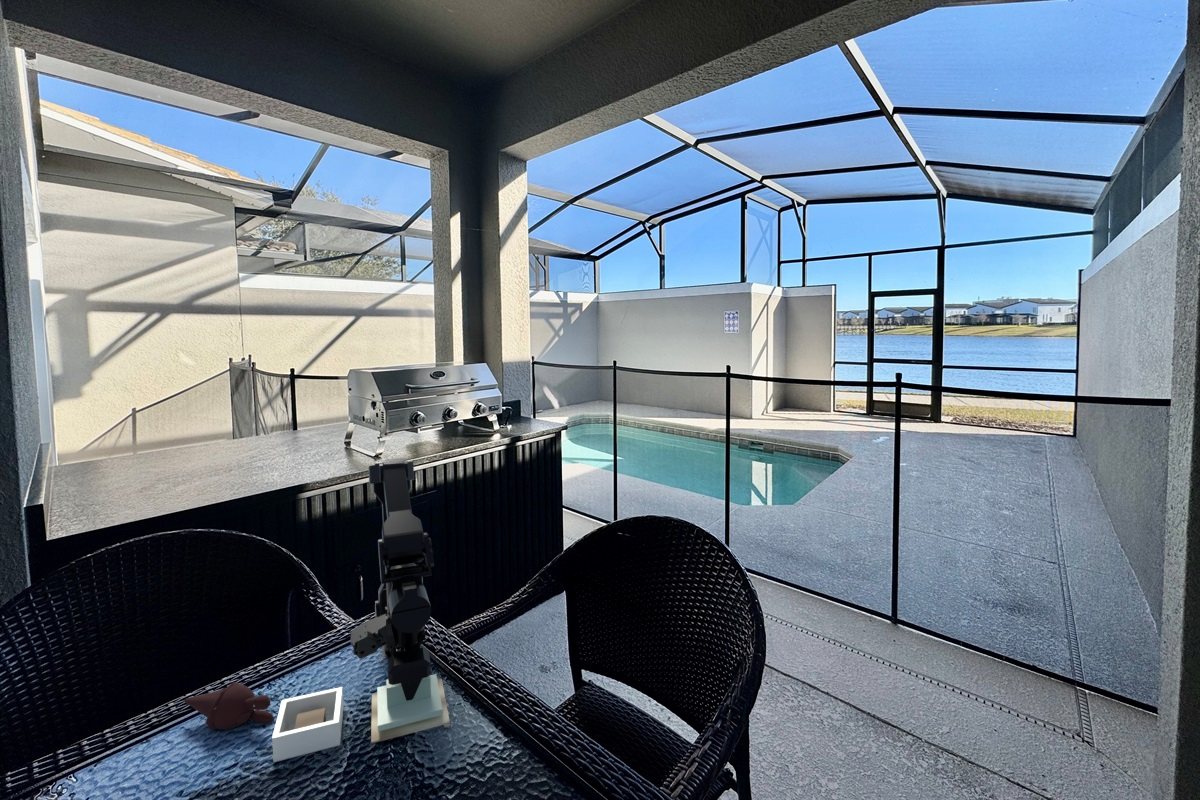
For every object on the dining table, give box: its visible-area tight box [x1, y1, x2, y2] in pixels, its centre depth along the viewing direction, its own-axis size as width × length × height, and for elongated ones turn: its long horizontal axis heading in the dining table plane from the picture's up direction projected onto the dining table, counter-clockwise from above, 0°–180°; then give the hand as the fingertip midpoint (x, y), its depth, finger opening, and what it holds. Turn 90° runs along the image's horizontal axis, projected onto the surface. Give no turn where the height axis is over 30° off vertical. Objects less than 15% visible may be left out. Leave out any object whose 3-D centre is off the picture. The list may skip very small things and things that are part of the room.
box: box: [271, 686, 344, 763], centre depth 85 cm, size 9×9×4 cm
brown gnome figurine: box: [184, 681, 275, 731], centre depth 88 cm, size 7×7×15 cm
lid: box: [376, 673, 443, 731], centre depth 91 cm, size 10×10×5 cm
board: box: [370, 678, 451, 745], centre depth 91 cm, size 12×12×1 cm
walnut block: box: [295, 708, 326, 729], centre depth 85 cm, size 4×4×2 cm
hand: (408, 687), depth 91 cm, fingers open, 6 cm apart
